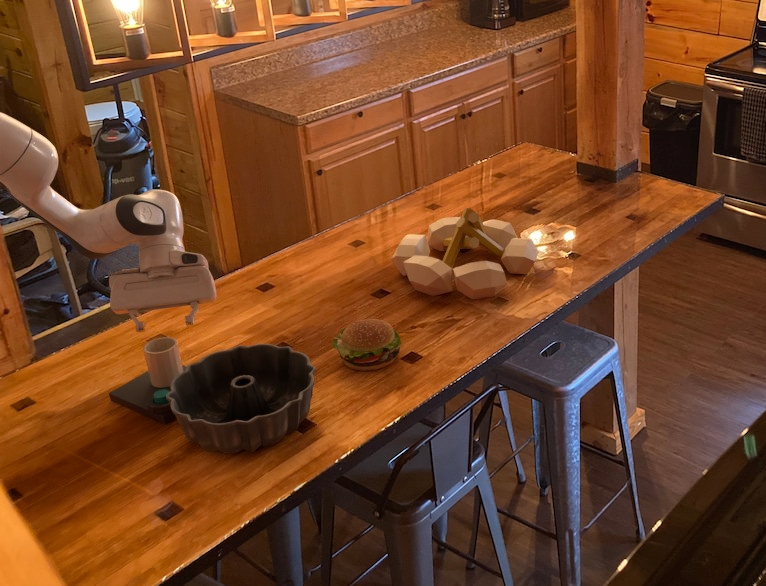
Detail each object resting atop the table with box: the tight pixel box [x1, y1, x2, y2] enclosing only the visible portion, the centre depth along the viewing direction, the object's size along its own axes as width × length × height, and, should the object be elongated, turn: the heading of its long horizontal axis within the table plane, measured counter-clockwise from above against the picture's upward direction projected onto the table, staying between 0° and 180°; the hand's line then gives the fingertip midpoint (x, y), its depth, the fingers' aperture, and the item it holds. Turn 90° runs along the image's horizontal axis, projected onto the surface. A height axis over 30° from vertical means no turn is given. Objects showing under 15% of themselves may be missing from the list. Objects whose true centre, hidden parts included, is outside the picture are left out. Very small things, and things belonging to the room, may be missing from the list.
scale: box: [108, 364, 187, 425], centre depth 190 cm, size 16×14×4 cm
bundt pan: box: [166, 343, 317, 454], centre depth 180 cm, size 26×26×10 cm
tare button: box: [154, 390, 169, 404], centre depth 183 cm, size 3×3×2 cm
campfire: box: [390, 207, 539, 301], centre depth 238 cm, size 35×34×17 cm
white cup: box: [142, 336, 183, 388], centre depth 191 cm, size 6×6×8 cm
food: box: [331, 318, 402, 372], centre depth 202 cm, size 14×14×8 cm
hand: (165, 328), depth 196 cm, fingers open, 8 cm apart
